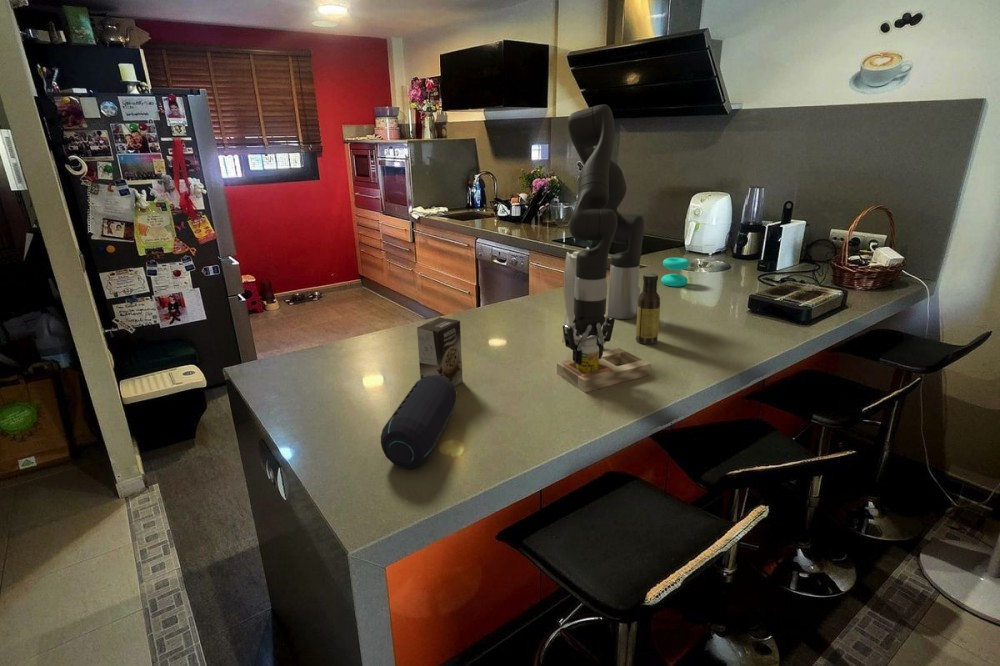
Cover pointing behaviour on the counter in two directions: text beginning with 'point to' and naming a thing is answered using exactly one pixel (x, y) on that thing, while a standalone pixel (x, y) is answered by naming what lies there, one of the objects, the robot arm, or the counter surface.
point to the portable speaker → (418, 422)
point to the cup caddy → (605, 370)
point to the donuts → (675, 279)
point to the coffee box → (440, 349)
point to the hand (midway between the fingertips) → (587, 360)
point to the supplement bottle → (589, 356)
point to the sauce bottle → (648, 311)
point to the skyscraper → (569, 287)
